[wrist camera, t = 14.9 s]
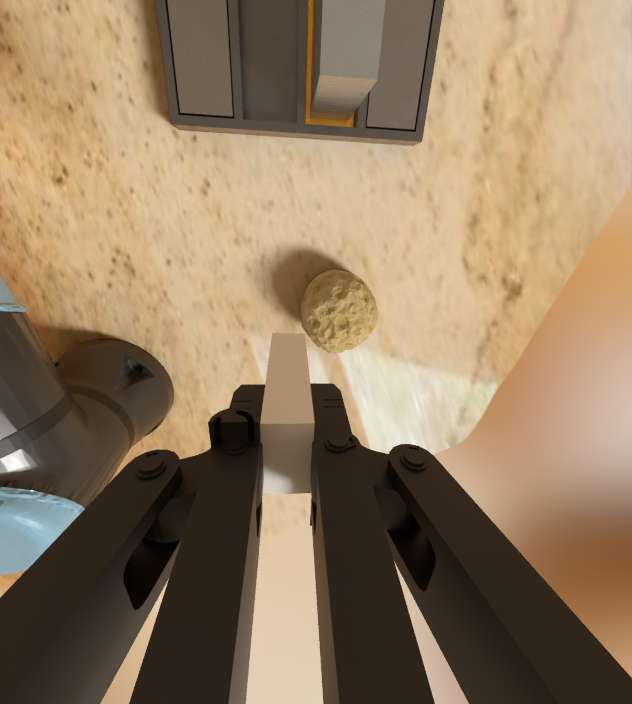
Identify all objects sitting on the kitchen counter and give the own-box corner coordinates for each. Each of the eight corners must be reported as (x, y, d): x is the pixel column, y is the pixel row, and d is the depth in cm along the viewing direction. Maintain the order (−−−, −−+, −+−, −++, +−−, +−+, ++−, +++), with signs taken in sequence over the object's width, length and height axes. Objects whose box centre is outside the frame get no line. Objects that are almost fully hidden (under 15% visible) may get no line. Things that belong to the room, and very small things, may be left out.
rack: (179, 129, 32) (168, 122, 29) (155, -75, 26) (138, -110, 23) (413, 145, 34) (424, 140, 31) (441, -40, 28) (458, -68, 25)
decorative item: (311, 266, 43) (268, 300, 36) (377, 250, 37) (339, 287, 30) (335, 325, 47) (300, 365, 40) (397, 320, 41) (368, 366, 34)
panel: (309, 117, 32) (319, 74, 21) (314, -29, 28) (329, -177, 17) (348, 120, 32) (377, 79, 22) (358, -24, 28) (402, -166, 17)
